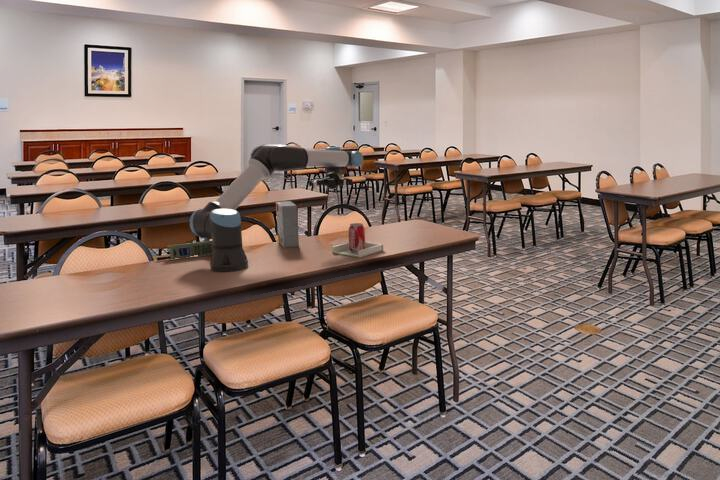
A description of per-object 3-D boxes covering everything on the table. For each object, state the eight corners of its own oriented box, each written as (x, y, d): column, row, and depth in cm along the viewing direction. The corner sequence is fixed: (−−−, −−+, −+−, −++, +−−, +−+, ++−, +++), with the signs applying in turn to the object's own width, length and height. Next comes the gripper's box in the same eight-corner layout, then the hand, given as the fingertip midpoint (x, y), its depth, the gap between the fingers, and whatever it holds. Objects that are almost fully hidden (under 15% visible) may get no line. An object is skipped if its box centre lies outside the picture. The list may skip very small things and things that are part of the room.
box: (359, 257, 240) (359, 250, 239) (332, 253, 250) (332, 246, 250) (383, 250, 252) (383, 244, 251) (356, 246, 262) (356, 240, 261)
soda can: (365, 252, 247) (364, 225, 245) (349, 253, 247) (348, 225, 245) (365, 249, 254) (364, 222, 252) (349, 249, 254) (348, 223, 252)
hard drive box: (277, 242, 279) (275, 201, 275) (293, 240, 281) (291, 200, 277) (283, 248, 264) (281, 205, 260) (299, 246, 267) (297, 204, 263)
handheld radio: (215, 255, 255) (157, 262, 244) (214, 254, 258) (156, 261, 247) (214, 240, 254) (156, 247, 243) (212, 239, 257) (155, 246, 246)
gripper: (358, 187, 276) (357, 191, 256) (307, 188, 277) (302, 193, 256) (358, 171, 275) (356, 175, 254) (306, 173, 276) (301, 176, 255)
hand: (329, 184), depth 255 cm, fingers open, 13 cm apart
